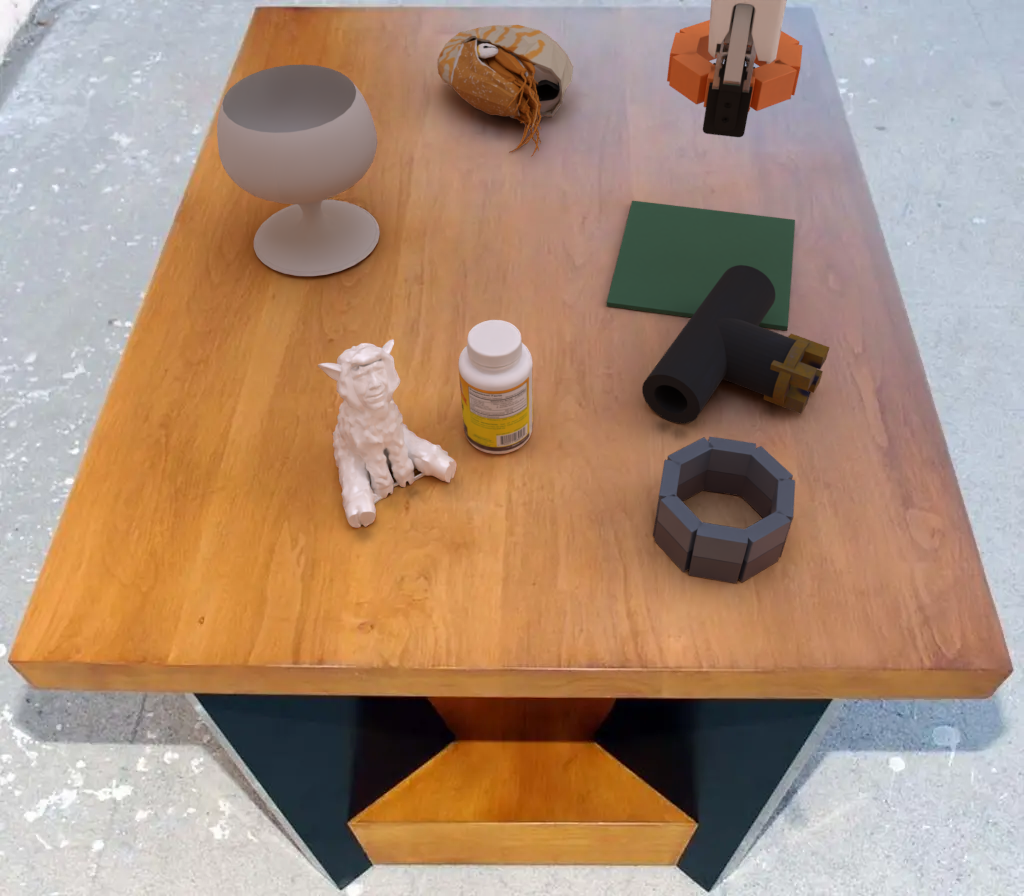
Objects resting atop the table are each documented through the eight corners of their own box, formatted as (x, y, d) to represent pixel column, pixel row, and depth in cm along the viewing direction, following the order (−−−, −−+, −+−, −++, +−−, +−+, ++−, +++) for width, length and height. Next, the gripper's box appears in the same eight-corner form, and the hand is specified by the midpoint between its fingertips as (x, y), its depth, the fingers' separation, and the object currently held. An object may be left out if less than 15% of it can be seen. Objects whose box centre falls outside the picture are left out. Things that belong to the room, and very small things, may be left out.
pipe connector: (855, 300, 82) (784, 419, 74) (841, 347, 86) (772, 465, 78) (724, 256, 86) (644, 364, 78) (717, 303, 90) (640, 410, 82)
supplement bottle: (481, 399, 83) (476, 303, 75) (543, 418, 81) (544, 323, 74) (451, 445, 80) (442, 350, 72) (515, 466, 78) (513, 371, 70)
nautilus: (587, 168, 106) (445, 182, 106) (566, 57, 119) (440, 69, 119) (587, 102, 100) (436, 116, 100) (564, -7, 113) (432, 5, 113)
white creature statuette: (355, 537, 74) (330, 425, 65) (299, 465, 79) (269, 352, 70) (461, 477, 77) (452, 364, 68) (402, 413, 82) (386, 299, 73)
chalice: (369, 292, 92) (347, 147, 81) (224, 279, 94) (182, 134, 83) (403, 203, 102) (387, 62, 90) (271, 193, 103) (239, 53, 92)
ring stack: (784, 491, 76) (796, 449, 73) (778, 591, 70) (791, 550, 67) (663, 472, 78) (669, 429, 74) (647, 568, 72) (653, 527, 68)
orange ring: (798, 54, 83) (804, 25, 81) (792, 117, 77) (798, 88, 75) (677, 41, 85) (680, 13, 83) (661, 102, 78) (664, 73, 76)
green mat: (794, 223, 98) (795, 219, 98) (786, 330, 88) (788, 326, 88) (631, 204, 101) (632, 200, 101) (606, 306, 91) (606, 302, 90)
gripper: (823, -78, 60) (767, 186, 74) (828, -169, 70) (777, 78, 84) (697, -88, 61) (664, 174, 75) (719, -176, 71) (687, 68, 85)
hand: (724, 121), depth 79 cm, fingers closed on orange ring, 2 cm apart
